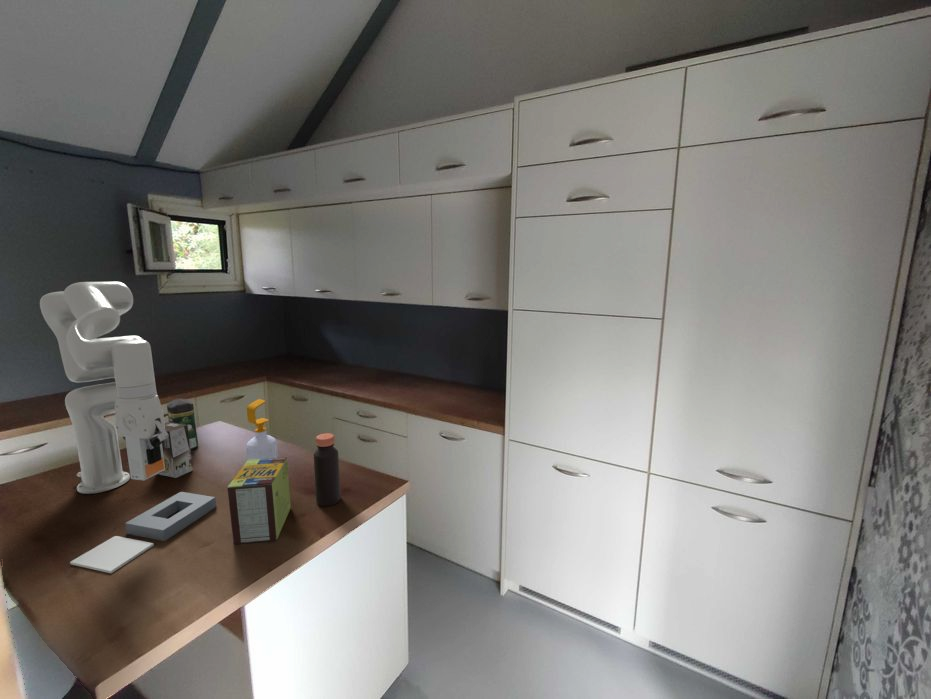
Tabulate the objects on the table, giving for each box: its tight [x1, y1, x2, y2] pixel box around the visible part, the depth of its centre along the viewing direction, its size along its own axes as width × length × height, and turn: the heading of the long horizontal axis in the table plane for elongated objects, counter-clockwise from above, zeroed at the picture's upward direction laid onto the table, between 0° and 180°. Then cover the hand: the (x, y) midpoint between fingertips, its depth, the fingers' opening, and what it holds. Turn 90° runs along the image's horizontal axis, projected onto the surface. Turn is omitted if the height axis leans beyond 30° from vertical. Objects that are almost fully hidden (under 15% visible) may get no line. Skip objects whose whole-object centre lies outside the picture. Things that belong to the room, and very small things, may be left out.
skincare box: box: [124, 434, 165, 481], centre depth 105 cm, size 6×4×12 cm
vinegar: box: [313, 432, 341, 507], centre depth 122 cm, size 7×7×20 cm
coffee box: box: [157, 421, 194, 479], centre depth 139 cm, size 9×6×16 cm
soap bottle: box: [246, 398, 279, 460], centre depth 139 cm, size 9×9×25 cm
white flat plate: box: [69, 535, 155, 574], centre depth 99 cm, size 12×10×1 cm
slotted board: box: [124, 491, 217, 542], centre depth 113 cm, size 12×16×3 cm
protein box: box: [227, 457, 292, 545], centre depth 110 cm, size 10×15×16 cm
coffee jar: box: [166, 398, 199, 450], centre depth 158 cm, size 10×8×19 cm
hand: (146, 460), depth 105 cm, fingers closed on skincare box, 4 cm apart
